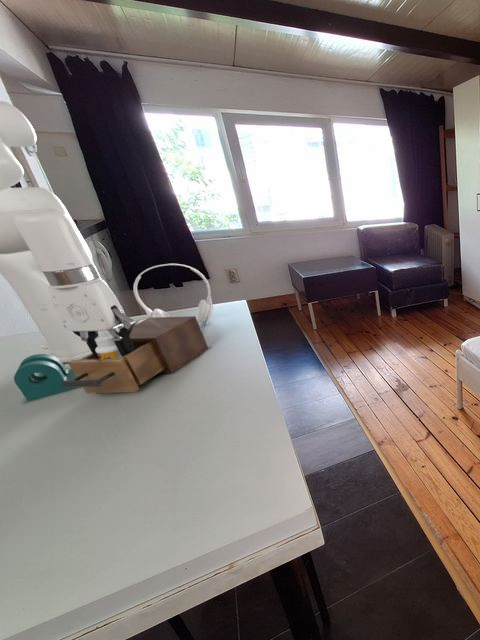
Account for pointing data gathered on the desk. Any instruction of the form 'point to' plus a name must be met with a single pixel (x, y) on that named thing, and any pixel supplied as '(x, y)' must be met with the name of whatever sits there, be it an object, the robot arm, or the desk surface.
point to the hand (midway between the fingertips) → (116, 353)
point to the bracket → (42, 376)
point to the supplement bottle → (107, 348)
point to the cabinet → (172, 339)
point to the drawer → (117, 370)
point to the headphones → (201, 316)
